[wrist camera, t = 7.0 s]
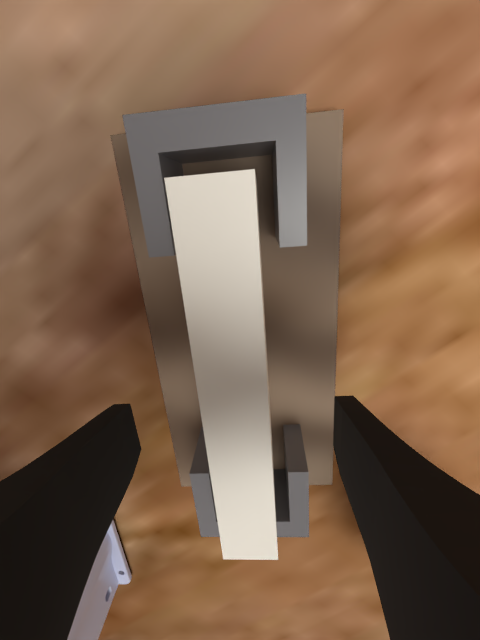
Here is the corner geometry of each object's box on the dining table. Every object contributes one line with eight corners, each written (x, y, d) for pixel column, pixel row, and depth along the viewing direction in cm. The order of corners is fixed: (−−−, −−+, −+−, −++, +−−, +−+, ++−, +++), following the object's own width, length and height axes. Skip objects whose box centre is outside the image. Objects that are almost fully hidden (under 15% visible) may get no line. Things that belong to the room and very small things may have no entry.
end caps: (301, 482, 20) (308, 537, 17) (210, 483, 21) (200, 536, 17) (294, 120, 13) (305, 93, 10) (155, 135, 14) (122, 115, 10)
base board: (329, 474, 21) (332, 484, 20) (184, 476, 22) (181, 486, 21) (338, 114, 14) (343, 109, 13) (118, 138, 14) (110, 135, 14)
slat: (272, 457, 20) (278, 559, 14) (233, 457, 20) (223, 559, 14) (256, 181, 14) (254, 168, 8) (202, 186, 14) (164, 177, 9)
